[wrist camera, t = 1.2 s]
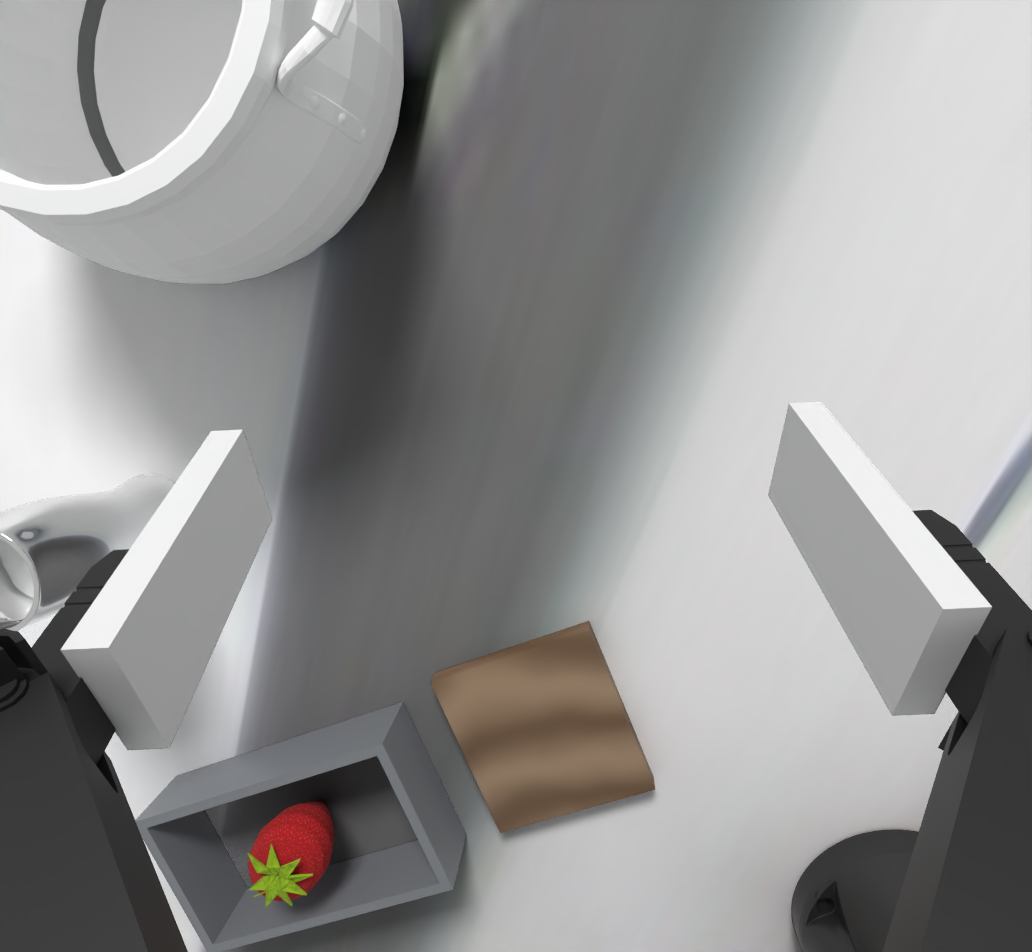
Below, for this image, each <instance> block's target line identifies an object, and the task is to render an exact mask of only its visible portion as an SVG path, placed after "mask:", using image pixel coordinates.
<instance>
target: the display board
mask: <svg viewBox="0 0 1032 952" xmlns="http://www.w3.org/2000/svg"><path fill="white" fill-rule="evenodd" d="M430 683H431V685H432V687H433V689H434V692H435V694H436V696H437V698H438V700H439V702H440V704H441V707H442V709H443V711H444V713H445V715H446V717H447V719H448V722H449V724H450V726H451V728H452V730H453V732H454V735H455V737H456V739H457V741H458V743H459V745H460V747H461V750H462V752H463V754H464V756H465V758H466V760H467V763H468V765H469V767H470V769H471V771H472V773H473V775H474V778H475V780H476V782H477V784H478V786H479V788H480V790H481V793H482V795H483V797H484V799H485V801H486V803H487V806H488V808H489V810H490V812H491V814H492V816H493V818H494V821H495V823H496V825H497V827H498V829H499V831H500V833H501V832H505V831H508V830H512V829H515V828H519V827H523V826H526V825H530V824H533V823H537V822H541V821H544V820H548V819H551V818H555V817H558V816H562V815H566V814H569V813H573V812H576V811H580V810H583V809H587V808H591V807H594V806H598V805H601V804H605V803H608V802H612V801H616V800H619V799H623V798H626V797H630V796H633V795H637V794H641V793H644V792H648V791H651V790H655V785H654V778H653V775H652V772H651V770H650V767H649V765H648V762H647V760H646V758H645V755H644V753H643V750H642V748H641V746H640V743H639V741H638V738H637V736H636V733H635V731H634V729H633V726H632V724H631V721H630V719H629V716H628V714H627V712H626V709H625V707H624V704H623V702H622V700H621V697H620V695H619V692H618V690H617V687H616V685H615V683H614V680H613V678H612V675H611V673H610V670H609V668H608V666H607V663H606V661H605V658H604V656H603V654H602V651H601V649H600V646H599V644H598V641H597V639H596V637H595V634H594V632H593V629H592V627H591V624H590V622H589V621H588V622H585V623H582V624H579V625H576V626H573V627H570V628H567V629H564V630H561V631H558V632H555V633H552V634H549V635H546V636H543V637H540V638H537V639H534V640H531V641H528V642H525V643H522V644H519V645H516V646H513V647H510V648H507V649H504V650H501V651H498V652H495V653H492V654H489V655H486V656H483V657H480V658H477V659H474V660H471V661H468V662H465V663H462V664H459V665H456V666H453V667H450V668H447V669H444V670H441V671H438V672H435V673H434V675H433V677H432V680H431V682H430Z"/></svg>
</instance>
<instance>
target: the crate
mask: <svg viewBox="0 0 1032 952" xmlns="http://www.w3.org/2000/svg"><path fill="white" fill-rule="evenodd" d="M375 756H377V757H378V759H379V761H380V763H381V765H382V767H383V769H384V771H385V773H386V775H387V777H388V779H389V781H390V783H391V785H392V787H393V789H394V791H395V794H396V796H397V798H398V800H399V802H400V804H401V806H402V808H403V810H404V812H405V814H406V816H407V818H408V820H409V822H410V824H411V826H412V828H413V830H414V832H415V834H416V836H417V838H418V840H416V841H412V842H409V843H405V844H402V845H398V846H395V847H391V848H388V849H384V850H381V851H377V852H374V853H370V854H367V855H363V856H360V857H356V858H353V859H349V860H346V861H342V862H339V863H335V864H332V865H329V866H328V868H327V869H326V871H325V873H324V874H323V876H322V877H321V878H320V880H319V881H318V882H317V884H316V885H315V886H314V887H313V888H312V889H311V890H310V891H309V892H308V893H307V895H303V896H301V897H299V898H296V899H293V900H291V902H292V904H293V906H292V907H291V906H290V905H289V904H288V903H287V902H285V901H275V900H272V901H271V902H270V904H269V905H268V906H267V907H266V908H265V901H266V897H264V896H263V895H262V894H261V895H259V896H257V897H254V896H255V895H258V894H260V893H259V892H258V891H257V890H249V889H250V888H247V887H246V885H245V884H244V882H243V880H242V878H241V876H240V874H239V873H238V871H237V869H236V867H235V865H234V863H233V862H232V860H231V858H230V856H229V854H228V853H227V851H226V849H225V847H224V845H223V843H222V842H221V840H220V838H219V836H218V834H217V832H216V831H215V829H214V827H213V825H212V823H211V821H210V820H209V818H208V816H207V814H206V812H205V811H204V810H206V809H209V808H213V807H216V806H219V805H222V804H225V803H228V802H232V801H235V800H238V799H241V798H244V797H248V796H251V795H254V794H257V793H260V792H264V791H267V790H270V789H273V788H276V787H279V786H283V785H286V784H289V783H292V782H295V781H299V780H302V779H305V778H308V777H311V776H314V775H318V774H321V773H324V772H327V771H330V770H334V769H337V768H340V767H343V766H346V765H350V764H353V763H356V762H359V761H362V760H365V759H369V758H372V757H375ZM135 822H136V824H137V827H138V829H139V832H140V834H141V836H142V838H143V840H144V842H145V843H146V845H147V847H148V849H149V850H150V852H151V854H152V856H153V857H154V859H155V861H156V863H157V864H158V866H159V868H160V870H161V871H162V873H163V875H164V877H165V878H166V880H167V882H168V884H169V885H170V887H171V889H172V891H173V892H174V894H175V896H176V898H177V899H178V901H179V903H180V905H181V906H182V908H183V910H184V912H185V913H186V915H187V917H188V919H189V920H190V922H191V924H192V926H193V927H194V929H195V931H196V933H197V934H198V936H199V938H200V940H201V941H202V943H203V945H204V947H205V948H206V950H207V952H221V951H225V950H229V949H233V948H236V947H240V946H244V945H248V944H251V943H255V942H259V941H263V940H266V939H270V938H274V937H278V936H281V935H285V934H289V933H293V932H296V931H300V930H304V929H308V928H311V927H315V926H319V925H323V924H326V923H330V922H334V921H338V920H341V919H345V918H349V917H353V916H356V915H360V914H364V913H368V912H371V911H375V910H379V909H383V908H386V907H390V906H394V905H398V904H401V903H405V902H409V901H413V900H416V899H420V898H424V897H427V896H431V895H435V894H439V893H442V892H446V891H450V890H453V889H454V885H455V881H456V876H457V872H458V868H459V864H460V860H461V856H462V851H463V847H464V843H465V839H466V833H465V831H464V829H463V827H462V825H461V823H460V821H459V818H458V816H457V814H456V812H455V810H454V808H453V806H452V804H451V802H450V799H449V797H448V795H447V793H446V791H445V789H444V787H443V785H442V783H441V781H440V778H439V776H438V774H437V772H436V770H435V768H434V766H433V764H432V762H431V759H430V757H429V755H428V753H427V751H426V749H425V747H424V745H423V743H422V741H421V738H420V736H419V734H418V732H417V730H416V728H415V726H414V724H413V722H412V719H411V717H410V715H409V713H408V711H407V709H406V707H405V705H404V703H403V702H401V703H398V704H394V705H391V706H388V707H385V708H382V709H379V710H376V711H373V712H370V713H367V714H364V715H361V716H358V717H355V718H352V719H349V720H346V721H343V722H340V723H337V724H333V725H330V726H327V727H324V728H321V729H318V730H315V731H312V732H309V733H306V734H303V735H300V736H297V737H294V738H291V739H288V740H285V741H282V742H279V743H276V744H272V745H269V746H266V747H263V748H260V749H257V750H254V751H251V752H248V753H245V754H242V755H239V756H236V757H233V758H230V759H227V760H224V761H221V762H218V763H215V764H211V765H208V766H205V767H202V768H199V769H196V770H193V771H190V772H187V773H184V774H181V775H178V776H176V777H175V778H174V779H173V780H172V781H171V782H170V784H169V785H168V786H167V787H166V788H165V789H164V790H163V791H162V792H161V793H160V794H159V795H158V796H157V798H156V799H155V800H154V801H153V802H152V803H151V804H150V805H149V806H148V807H147V808H146V809H145V811H144V812H143V813H142V814H141V815H140V816H139V817H138V818H137V819H136V820H135Z"/></svg>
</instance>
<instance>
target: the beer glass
mask: <svg viewBox="0 0 1032 952" xmlns="http://www.w3.org/2000/svg"><path fill="white" fill-rule="evenodd" d="M174 484H175V483H174V482H172V481H171V480H169V479H167V478H165V477H163V476H160V475H156V474H142V475H138V476H135V477H133V478H131V479H129V480H127V481H126V482H124V483H123V484H121V485H120V486H118V487H116V488H114V489H112V490H110V491H106V492H99V493H90V494H79V495H69V496H60V497H54V498H48V499H42V500H38V501H34V502H30V503H26V504H23V505H19V506H16V507H13V508H10V509H7V510H5V511H2V512H0V630H1V629H8V630H13V631H18V630H20V629H22V628H24V627H26V626H28V625H31V624H33V623H36V622H38V621H41V620H43V619H45V618H48V617H50V616H52V615H55V614H57V613H58V611H59V610H60V609H61V608H62V607H64V606H65V604H64V603H65V602H66V600H67V599H68V598H69V596H70V595H71V594H72V592H73V591H76V587H77V585H78V584H79V583H80V581H81V580H82V579H83V577H84V576H85V575H86V573H87V572H88V571H89V569H90V568H91V567H92V566H93V565H95V564H96V563H97V562H99V561H100V560H101V559H102V558H104V557H105V556H106V555H107V554H109V553H110V552H111V551H113V550H123V549H130V548H131V547H132V545H133V544H134V542H135V541H136V539H137V538H138V536H139V535H140V534H141V532H142V531H143V529H144V528H145V526H146V525H147V523H148V522H149V521H150V519H151V518H152V516H153V515H154V513H155V512H156V510H157V509H158V507H159V506H160V505H161V503H162V502H163V500H164V499H165V497H166V496H167V494H168V493H169V491H170V490H171V489H172V487H173V486H174Z"/></svg>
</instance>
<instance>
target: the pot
mask: <svg viewBox="0 0 1032 952" xmlns="http://www.w3.org/2000/svg"><path fill="white" fill-rule="evenodd" d="M403 86H404V72H403V34H402V22H401V17H400V11H399V6H398V1H397V0H0V209H1V210H4V211H6V212H7V213H8V214H10V215H11V216H13V217H14V218H16V219H17V220H19V221H20V222H21V223H23V224H24V225H26V226H27V227H29V228H30V229H32V230H33V231H34V232H36V233H37V234H39V235H40V236H42V237H44V238H46V239H48V240H50V241H51V242H53V243H55V244H57V245H59V246H61V247H63V248H65V249H67V250H69V251H71V252H73V253H76V254H78V255H80V256H82V257H85V258H87V259H89V260H91V261H94V262H96V263H98V264H100V265H103V266H105V267H107V268H111V269H114V270H118V271H121V272H124V273H128V274H133V275H137V276H142V277H146V278H151V279H155V280H160V281H164V282H174V283H203V284H226V283H231V282H236V281H240V280H245V279H250V278H254V277H259V276H263V275H266V274H268V273H271V272H273V271H275V270H278V269H280V268H282V267H284V266H286V265H289V264H291V263H293V262H295V261H297V260H299V259H302V258H304V257H306V256H308V255H309V254H311V253H312V252H313V251H315V250H316V249H317V248H319V247H320V246H321V245H323V244H324V243H325V242H326V241H328V240H329V239H330V238H332V237H333V236H334V235H336V234H337V233H338V232H339V231H340V230H341V229H342V227H343V226H344V225H345V224H346V223H347V222H348V221H349V219H350V218H351V217H352V216H353V215H354V214H355V213H356V211H357V210H358V209H359V208H360V207H361V206H362V204H363V203H364V201H365V199H366V198H367V196H368V194H369V192H370V191H371V189H372V187H373V186H374V184H375V182H376V180H377V179H378V177H379V175H380V173H381V172H382V170H383V168H384V165H385V162H386V159H387V156H388V153H389V150H390V147H391V144H392V142H393V139H394V136H395V133H396V130H397V125H398V119H399V112H400V106H401V99H402V93H403Z"/></svg>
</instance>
